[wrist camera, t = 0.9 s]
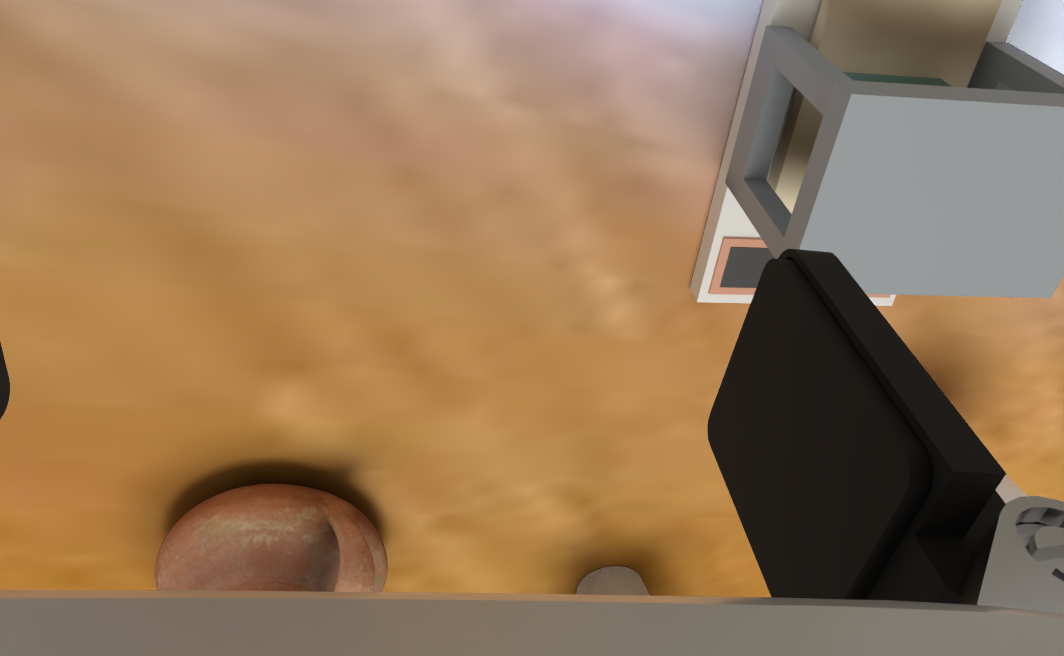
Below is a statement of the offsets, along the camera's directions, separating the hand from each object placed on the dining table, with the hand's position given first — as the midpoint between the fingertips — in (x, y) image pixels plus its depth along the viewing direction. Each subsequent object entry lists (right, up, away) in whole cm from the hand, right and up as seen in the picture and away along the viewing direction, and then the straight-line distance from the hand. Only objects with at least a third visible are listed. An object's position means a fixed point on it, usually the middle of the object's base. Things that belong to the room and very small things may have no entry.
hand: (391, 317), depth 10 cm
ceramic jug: (-15, -14, +47) cm, 52 cm away
